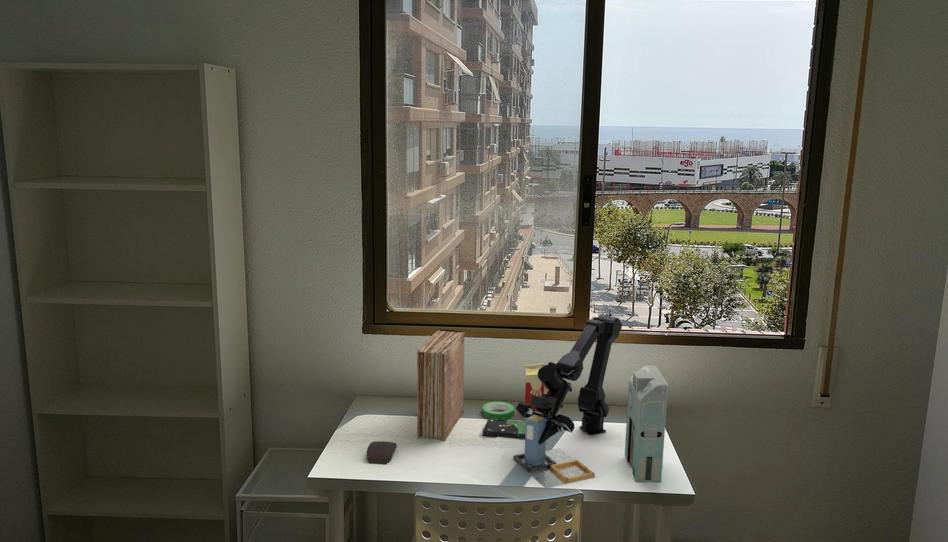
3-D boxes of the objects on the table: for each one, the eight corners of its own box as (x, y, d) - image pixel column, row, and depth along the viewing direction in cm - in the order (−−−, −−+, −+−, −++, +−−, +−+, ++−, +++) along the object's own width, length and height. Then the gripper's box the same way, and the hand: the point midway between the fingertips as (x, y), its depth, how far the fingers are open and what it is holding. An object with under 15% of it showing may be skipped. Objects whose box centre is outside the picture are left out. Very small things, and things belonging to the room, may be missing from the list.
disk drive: (482, 438, 256) (527, 442, 253) (482, 430, 255) (527, 433, 253) (487, 425, 266) (531, 429, 263) (487, 418, 265) (531, 421, 263)
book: (444, 441, 252) (444, 353, 245) (416, 438, 254) (416, 350, 247) (463, 412, 276) (464, 330, 269) (438, 409, 278) (439, 328, 271)
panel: (559, 449, 247) (559, 445, 247) (596, 478, 228) (596, 474, 228) (511, 459, 240) (511, 454, 240) (545, 490, 221) (545, 485, 221)
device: (624, 456, 243) (629, 365, 236) (649, 457, 243) (655, 365, 236) (634, 482, 227) (640, 384, 220) (661, 482, 227) (668, 385, 220)
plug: (533, 457, 240) (534, 413, 237) (545, 461, 237) (546, 417, 234) (522, 463, 236) (523, 418, 233) (534, 467, 233) (535, 422, 230)
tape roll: (509, 422, 268) (509, 415, 267) (478, 418, 271) (478, 411, 270) (517, 410, 278) (517, 403, 278) (487, 407, 281) (487, 400, 281)
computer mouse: (364, 464, 236) (364, 452, 235) (374, 445, 249) (374, 433, 249) (390, 465, 235) (390, 453, 235) (399, 446, 249) (399, 434, 248)
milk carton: (551, 413, 276) (553, 359, 271) (544, 423, 267) (546, 367, 263) (526, 409, 279) (527, 356, 274) (519, 419, 270) (520, 364, 266)
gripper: (519, 377, 241) (496, 421, 235) (570, 392, 229) (547, 439, 223) (534, 394, 248) (512, 437, 242) (584, 409, 236) (562, 455, 231)
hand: (532, 441), depth 234 cm, fingers closed on plug, 4 cm apart
